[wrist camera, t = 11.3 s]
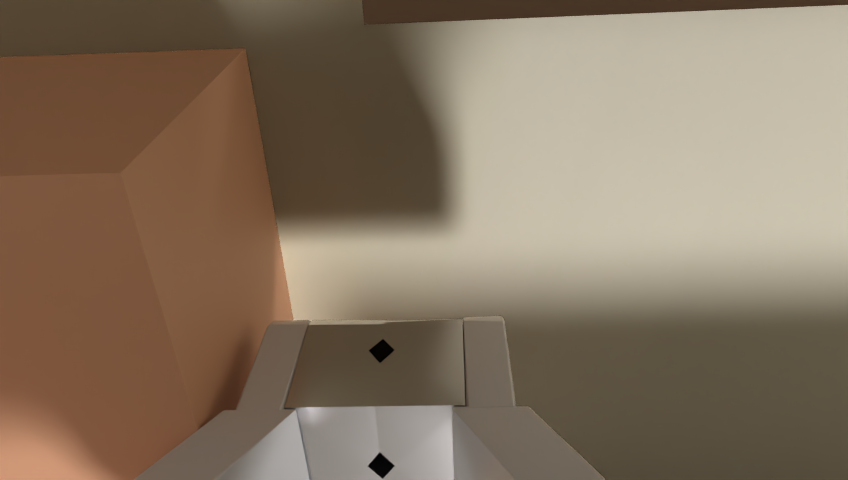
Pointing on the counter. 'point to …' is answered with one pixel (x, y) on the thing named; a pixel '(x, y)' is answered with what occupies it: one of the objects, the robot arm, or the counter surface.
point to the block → (128, 256)
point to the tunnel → (550, 8)
